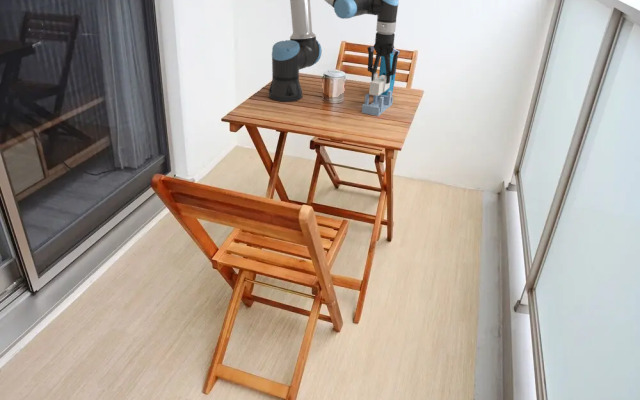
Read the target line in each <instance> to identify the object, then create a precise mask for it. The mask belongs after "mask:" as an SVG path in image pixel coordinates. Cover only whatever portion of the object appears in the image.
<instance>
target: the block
mask: <svg viewBox="0 0 640 400" xmlns="http://www.w3.org/2000/svg"><path fill="white" fill-rule="evenodd" d="M393 56H394V55H393V51H392V53H391V54H390V66H391V68H392V61H393ZM396 74H397V71H396V72H395V74H394V75H391V78H390V87H389V88H388V89H387V90H386V91H385V92H383V93H382V94H380V95H385V96H388V91H389V90H391V91H392V94H393V92H394V86H395V80H396ZM381 75H386V65H385V58H384V57H383V56H381V57H380V61H379V72H378V77H379V76H381Z"/></svg>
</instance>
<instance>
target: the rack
mask: <svg viewBox="0 0 640 400" xmlns="http://www.w3.org/2000/svg"><path fill="white" fill-rule="evenodd" d="M372 97H373V98H372V102H371V103H370V94H369V93H366V94H365V96H364V103H363V104H362V105H361V113H362V114H366V115H370V116H371V115H372V116H375V117H379V116H380V115H382V114H383V113H384V112H386V110H388V109H389V108H390V107H391V106H393V102H394V97H393V93H392V91H391V90H389V91H388V96H385V95H379V96H376V95H372ZM369 103H370V104H369Z"/></svg>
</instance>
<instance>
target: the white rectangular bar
mask: <svg viewBox="0 0 640 400" xmlns="http://www.w3.org/2000/svg"><path fill="white" fill-rule="evenodd" d="M384 76H385V75H381V76H379V75H378V77H377V78H376V79H375V80H373V81H370V82H369V91H368V94H370V95H371V96H374V95H376V96H379V95H380V94H382V93H383V85H384ZM390 78H391V76H390ZM389 87H390V82H389V83H388V84H387V89H388V88H389Z"/></svg>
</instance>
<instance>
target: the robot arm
mask: <svg viewBox="0 0 640 400" xmlns="http://www.w3.org/2000/svg"><path fill="white" fill-rule="evenodd" d="M324 2H325V3H327V4H329V6H331V7H332V8H333V10H334V13H335V15H336V16H337V17H338V18H340V19H351V18H353V17H354V18H356V17H358V16H362V15H373V16H377V17H376V18H377V19H376V27H375V28H376V32H375V39H374V44H373V45H370V46H368V47H367V53H368V56H367V59H368V61H367V72H370V73H371V77H370V78H371V81H370V82H372V81H373V80H375V79H376V78H378V77H379V72H377V70H378V67H379V65H380V62H381V56H383V57H384V58H385V65H386V75H385V76H384V85H383V92H385V91H386V90H387V84H388V83H389V82H390V76H391V75H394V74H395V72H396V73H397V65H398V59H399V55H400V53H401V50H399V49H398V50H397V49H396V48H395V45H394V44H395V37H396V35H395V32H396V25H397V15H398V8H399V0H324ZM289 4H290V13H291V14H290V15H291V25H292V34H291V35H290V37H289V40H288V39H286V40H280V41H277V42H275V43H274V44H273V46H272V52H271V60H272V61H271V62H272V63H271V64H272V66H271V68H272V69H271V71H272V72H271V73H272V74H271V75H272V79H271V83H270V86H269V89H268V98H269V99H271V100H274V101H277V102H285V103H286V102H288V103H289V102H296V101H299V100H301V99H302V98H303V90H302V86H301V83H300V82H301V81H300V79H299V78H300V77H299V75H300V70H304V69H306V68H310V67H312V66H314V65H315V64H317V63H318V62H319V61H320V59H321V57H322V46H321V44H320V43H319V41H318V40H317V36H316V35H317V34H315V33H314V32H313V25H312V13H311V9H312V8H311V0H290V1H289ZM374 51H375V53H376V54H375V58H374ZM392 51H393V55H394V56H393V61H392V68H391V66H390V54H391V53H392ZM395 75H396V74H395Z"/></svg>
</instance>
